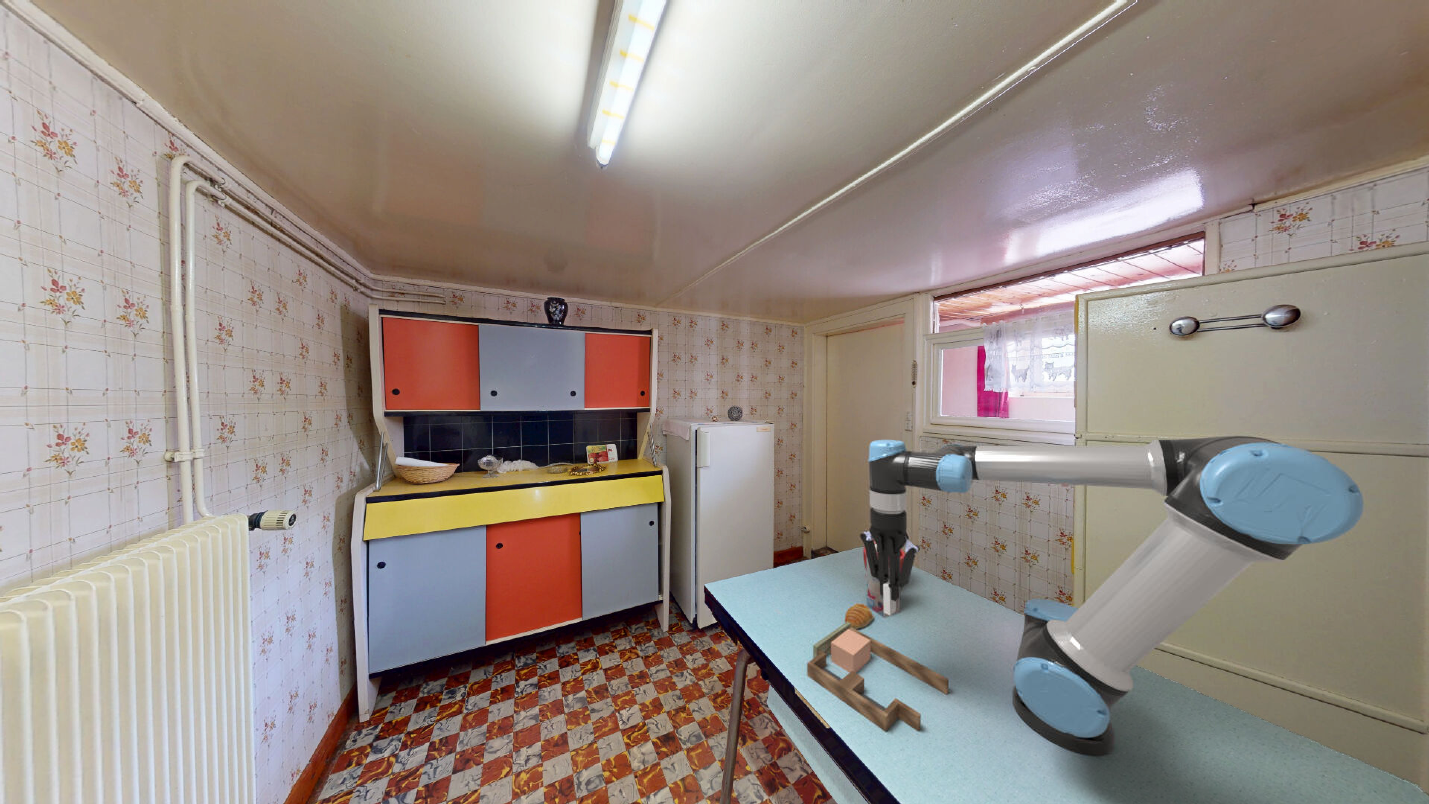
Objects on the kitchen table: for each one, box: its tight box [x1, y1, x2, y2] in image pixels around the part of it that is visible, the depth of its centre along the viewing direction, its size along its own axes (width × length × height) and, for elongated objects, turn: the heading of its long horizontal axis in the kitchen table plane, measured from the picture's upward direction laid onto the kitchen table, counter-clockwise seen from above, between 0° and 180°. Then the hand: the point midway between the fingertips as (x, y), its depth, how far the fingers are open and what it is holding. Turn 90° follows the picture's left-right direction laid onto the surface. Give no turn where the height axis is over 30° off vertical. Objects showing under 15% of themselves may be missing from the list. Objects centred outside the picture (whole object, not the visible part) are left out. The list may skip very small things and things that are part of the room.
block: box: [830, 629, 871, 674], centre depth 94 cm, size 6×8×5 cm
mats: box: [821, 666, 887, 711], centre depth 84 cm, size 17×4×1 cm, turn 39°
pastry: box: [844, 602, 875, 630], centre depth 110 cm, size 9×7×4 cm
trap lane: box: [806, 622, 950, 733], centre depth 87 cm, size 25×20×4 cm
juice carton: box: [866, 539, 901, 618], centre depth 115 cm, size 7×7×22 cm
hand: (889, 611), depth 86 cm, fingers closed
